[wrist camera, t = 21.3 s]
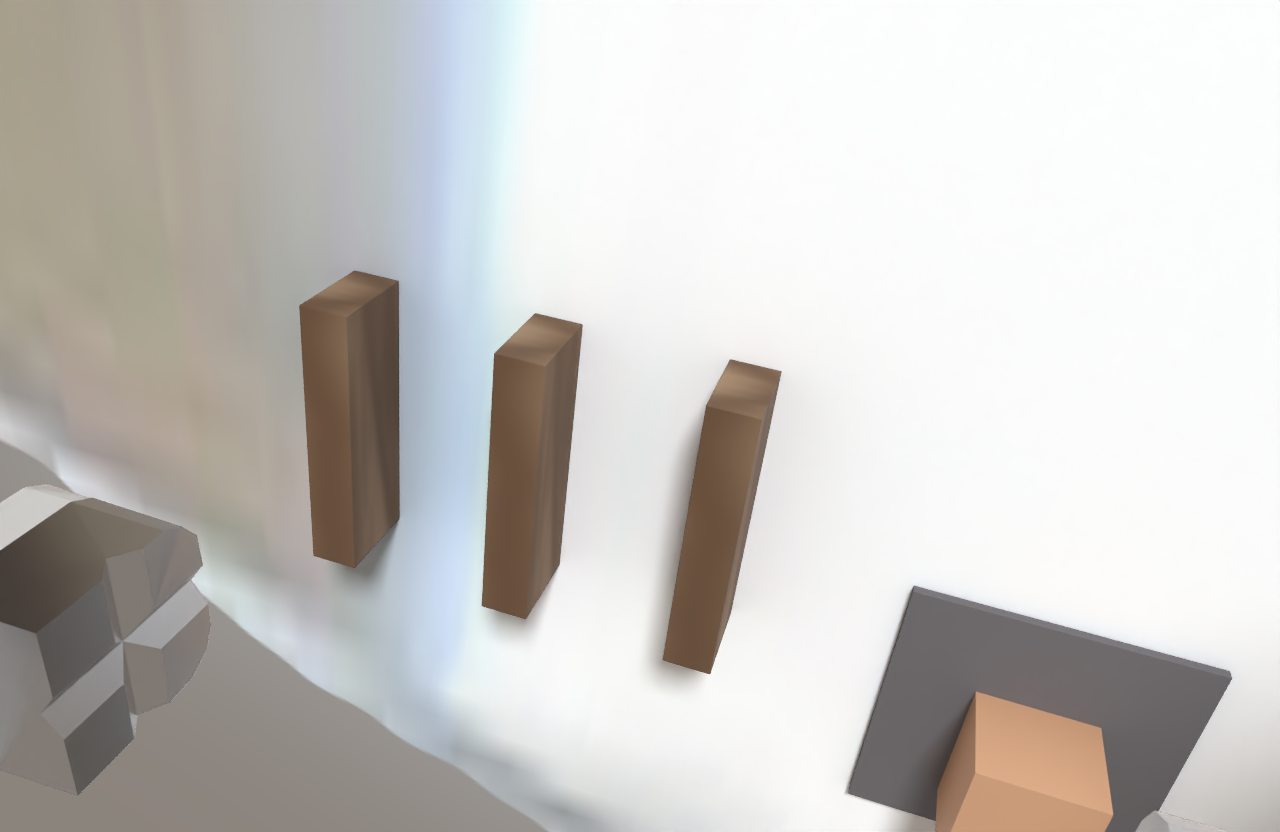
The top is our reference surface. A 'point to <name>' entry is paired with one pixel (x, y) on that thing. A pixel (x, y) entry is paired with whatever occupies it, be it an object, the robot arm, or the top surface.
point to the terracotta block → (1023, 773)
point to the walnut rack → (516, 457)
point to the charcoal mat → (1029, 701)
